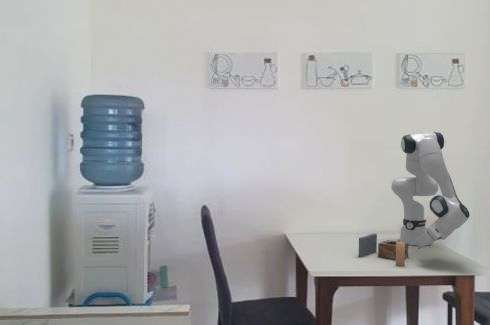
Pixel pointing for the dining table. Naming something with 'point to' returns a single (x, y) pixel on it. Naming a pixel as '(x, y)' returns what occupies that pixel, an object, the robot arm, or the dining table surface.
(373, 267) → the dining table surface
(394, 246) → the socket block
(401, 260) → the dowel
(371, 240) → the wall
